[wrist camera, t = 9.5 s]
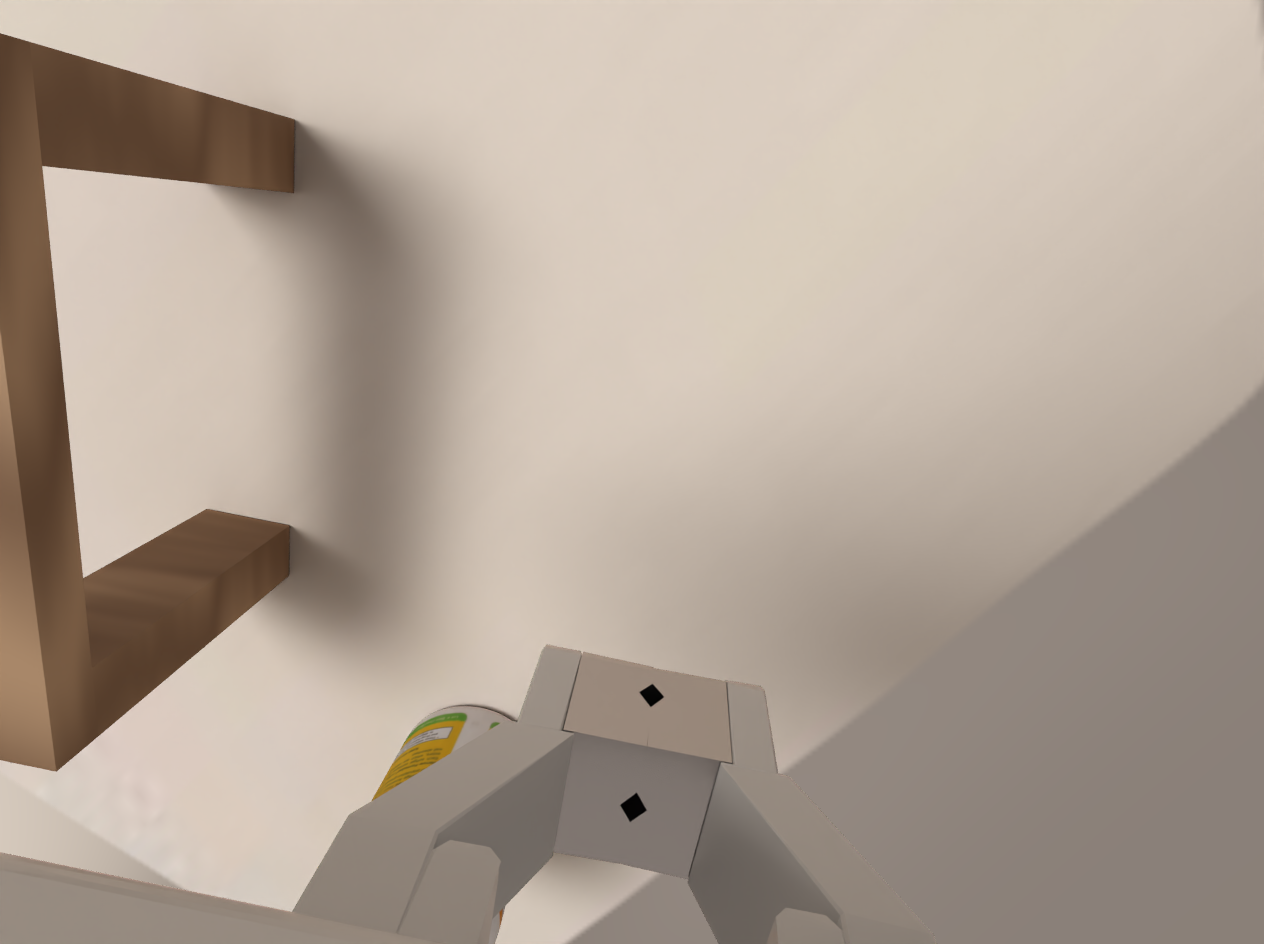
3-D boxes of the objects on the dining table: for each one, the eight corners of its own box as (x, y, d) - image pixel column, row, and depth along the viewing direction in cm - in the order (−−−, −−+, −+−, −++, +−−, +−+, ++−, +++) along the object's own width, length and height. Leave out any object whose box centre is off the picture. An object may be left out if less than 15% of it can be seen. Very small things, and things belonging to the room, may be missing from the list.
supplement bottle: (397, 793, 28) (254, 1065, 19) (418, 684, 26) (270, 926, 17) (527, 828, 28) (446, 1117, 19) (556, 722, 26) (483, 985, 17)
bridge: (194, 100, 20) (-222, -12, 11) (294, 119, 20) (-39, 22, 11) (208, 559, 25) (-71, 745, 16) (288, 575, 25) (56, 771, 16)
